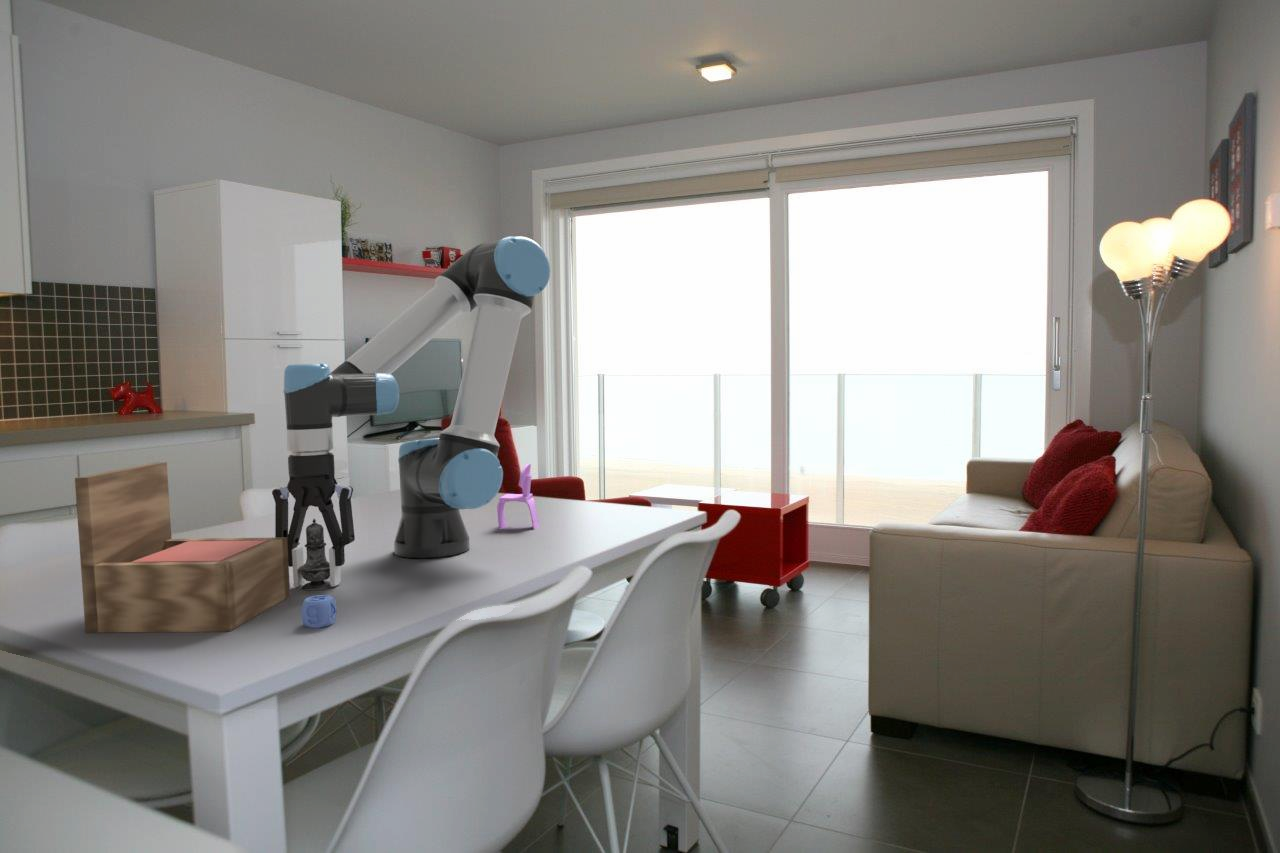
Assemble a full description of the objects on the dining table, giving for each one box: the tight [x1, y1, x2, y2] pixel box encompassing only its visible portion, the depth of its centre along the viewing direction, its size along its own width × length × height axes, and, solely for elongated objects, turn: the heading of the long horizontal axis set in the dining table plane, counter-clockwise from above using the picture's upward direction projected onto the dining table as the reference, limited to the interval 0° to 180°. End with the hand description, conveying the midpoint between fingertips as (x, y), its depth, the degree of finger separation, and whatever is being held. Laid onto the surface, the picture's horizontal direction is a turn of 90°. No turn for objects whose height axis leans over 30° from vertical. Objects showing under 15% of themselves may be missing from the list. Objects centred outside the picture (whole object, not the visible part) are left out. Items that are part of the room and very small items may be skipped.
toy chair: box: [496, 462, 541, 531], centre depth 213 cm, size 8×9×15 cm
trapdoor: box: [131, 540, 268, 563], centre depth 143 cm, size 14×15×1 cm
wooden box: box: [74, 461, 291, 633], centre depth 143 cm, size 22×20×23 cm
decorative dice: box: [301, 594, 337, 629], centre depth 136 cm, size 4×4×4 cm
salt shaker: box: [299, 518, 333, 591], centre depth 159 cm, size 6×6×12 cm
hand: (317, 584), depth 160 cm, fingers closed on salt shaker, 6 cm apart
